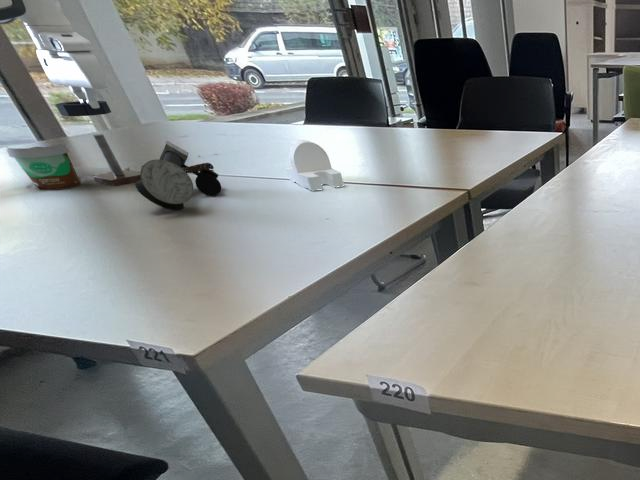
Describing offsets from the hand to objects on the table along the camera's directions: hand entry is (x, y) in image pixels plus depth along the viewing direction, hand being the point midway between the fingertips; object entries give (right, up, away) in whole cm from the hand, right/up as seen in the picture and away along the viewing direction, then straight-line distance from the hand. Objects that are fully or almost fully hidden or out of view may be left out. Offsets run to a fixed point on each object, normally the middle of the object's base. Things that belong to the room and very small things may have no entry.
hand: (91, 107), depth 134 cm
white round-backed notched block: (+51, -12, +16) cm, 55 cm away
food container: (-14, -19, +6) cm, 24 cm away
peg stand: (-4, -13, +13) cm, 18 cm away
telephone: (+27, -26, -1) cm, 37 cm away
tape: (-4, 0, +2) cm, 4 cm away
